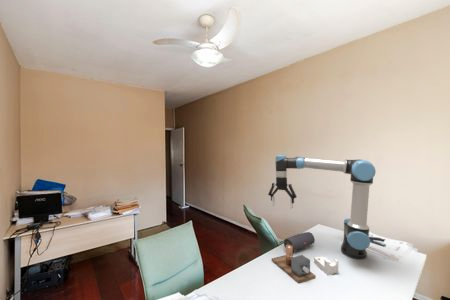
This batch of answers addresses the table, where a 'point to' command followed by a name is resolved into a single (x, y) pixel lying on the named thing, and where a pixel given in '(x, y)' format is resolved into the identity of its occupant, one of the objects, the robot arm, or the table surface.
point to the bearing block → (299, 265)
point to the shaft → (290, 254)
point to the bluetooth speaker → (300, 241)
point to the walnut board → (287, 268)
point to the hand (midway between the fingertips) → (282, 206)
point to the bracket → (326, 265)
